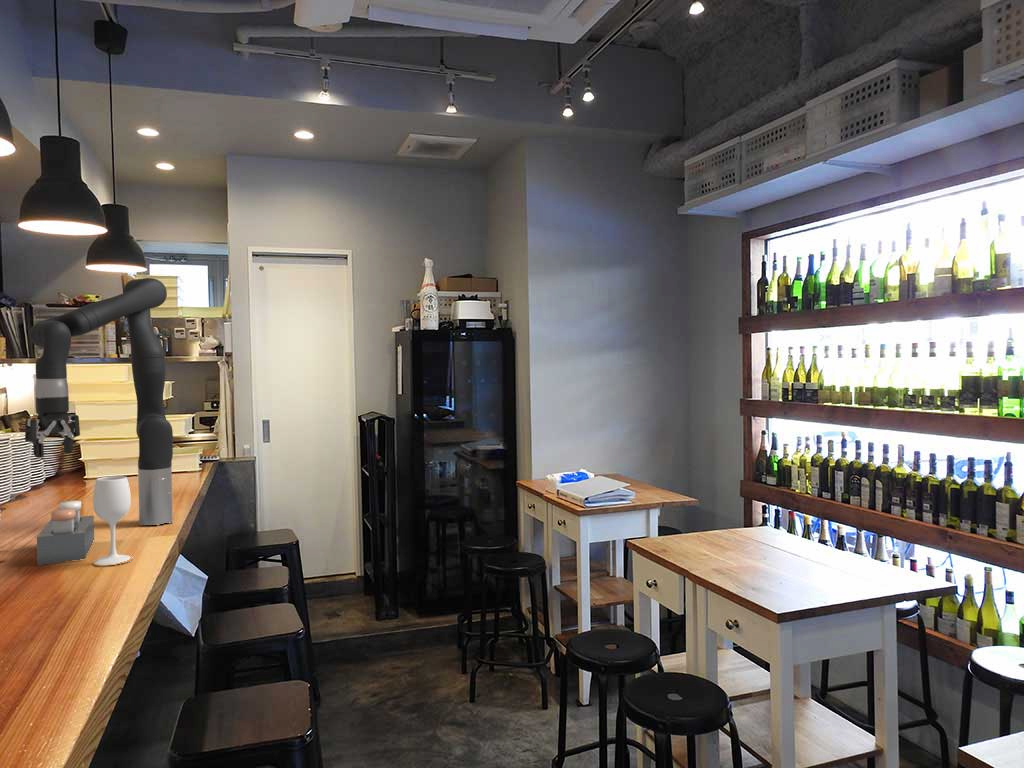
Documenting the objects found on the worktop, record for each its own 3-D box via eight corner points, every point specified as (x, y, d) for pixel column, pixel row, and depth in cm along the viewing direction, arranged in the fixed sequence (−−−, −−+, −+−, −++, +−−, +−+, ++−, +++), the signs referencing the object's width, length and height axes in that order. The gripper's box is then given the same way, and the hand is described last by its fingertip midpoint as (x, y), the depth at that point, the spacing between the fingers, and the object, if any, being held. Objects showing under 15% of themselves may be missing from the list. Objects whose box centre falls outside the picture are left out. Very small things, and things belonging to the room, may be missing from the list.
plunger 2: (77, 535, 182) (76, 508, 182) (74, 539, 177) (74, 512, 177) (53, 537, 180) (52, 510, 179) (50, 541, 175) (49, 514, 175)
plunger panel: (94, 540, 196) (93, 515, 196) (84, 560, 176) (84, 532, 176) (51, 544, 192) (51, 519, 191) (37, 565, 172) (36, 537, 172)
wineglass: (124, 555, 181) (122, 474, 180) (139, 561, 176) (137, 477, 175) (87, 562, 174) (85, 478, 174) (101, 569, 169) (99, 482, 168)
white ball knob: (82, 525, 193) (82, 500, 192) (80, 529, 188) (80, 503, 188) (60, 527, 190) (60, 501, 190) (57, 531, 186) (57, 505, 185)
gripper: (65, 394, 197) (67, 451, 198) (16, 396, 184) (18, 458, 184) (85, 394, 195) (87, 452, 196) (37, 397, 181) (40, 459, 182)
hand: (54, 455), depth 190 cm, fingers open, 8 cm apart
